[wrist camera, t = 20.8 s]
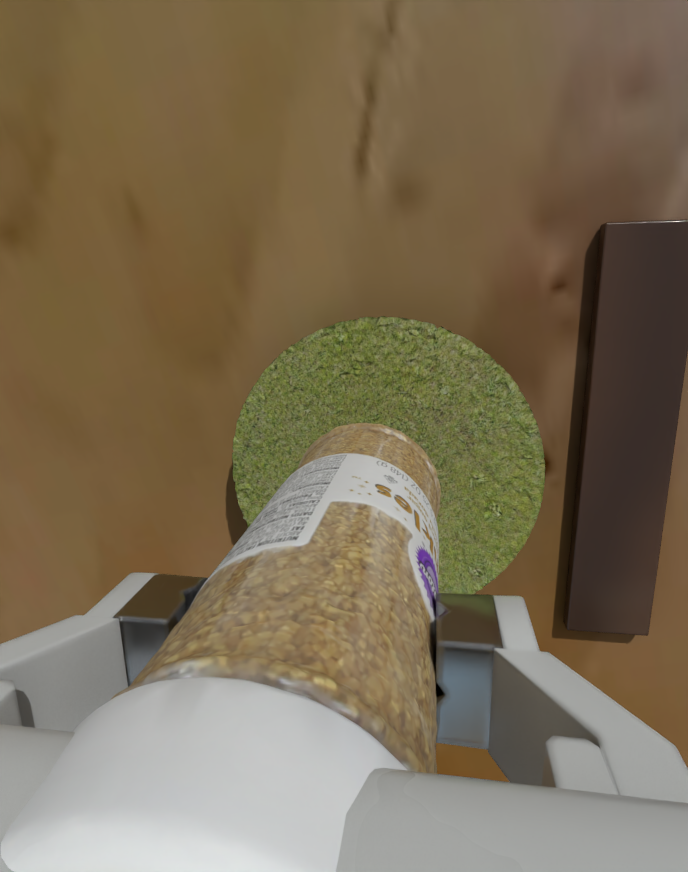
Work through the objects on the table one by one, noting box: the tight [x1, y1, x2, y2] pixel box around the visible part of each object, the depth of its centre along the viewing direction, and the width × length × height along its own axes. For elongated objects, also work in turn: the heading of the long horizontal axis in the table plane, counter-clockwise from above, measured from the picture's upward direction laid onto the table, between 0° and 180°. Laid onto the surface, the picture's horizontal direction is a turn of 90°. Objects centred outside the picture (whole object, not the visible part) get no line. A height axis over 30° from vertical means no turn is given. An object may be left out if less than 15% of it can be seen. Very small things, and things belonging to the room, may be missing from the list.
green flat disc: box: [232, 316, 545, 594], centre depth 20 cm, size 11×11×2 cm
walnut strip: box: [564, 220, 688, 636], centre depth 20 cm, size 3×15×1 cm, turn 1°
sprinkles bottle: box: [1, 423, 441, 872], centre depth 11 cm, size 5×5×14 cm
